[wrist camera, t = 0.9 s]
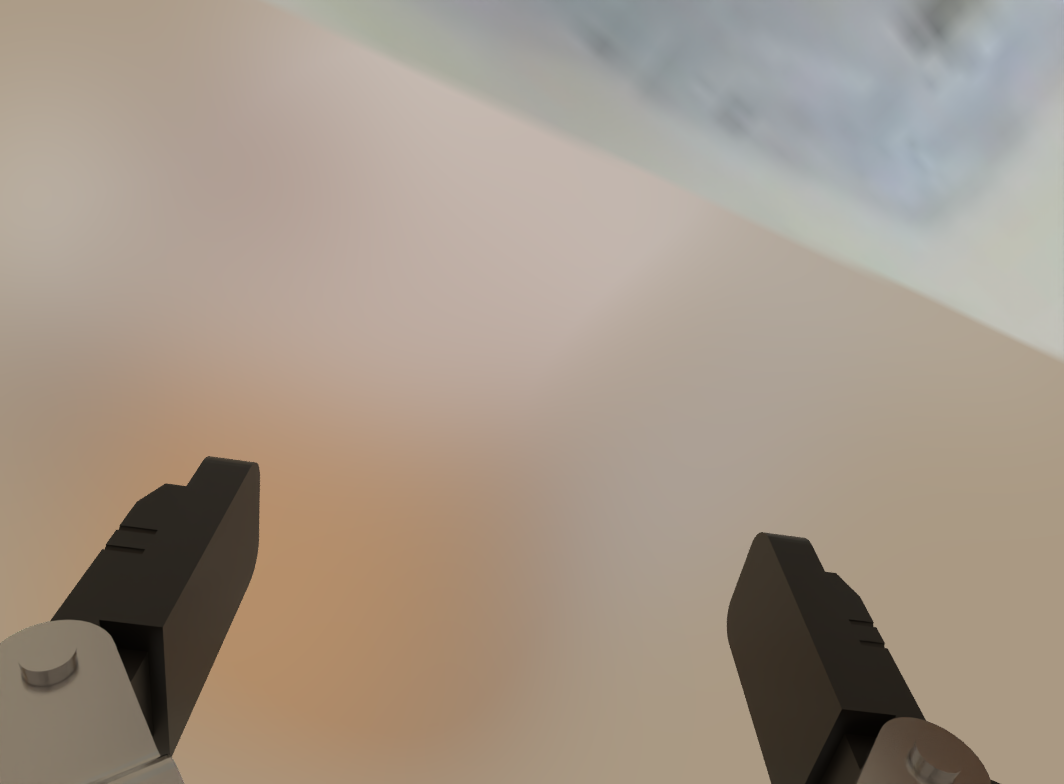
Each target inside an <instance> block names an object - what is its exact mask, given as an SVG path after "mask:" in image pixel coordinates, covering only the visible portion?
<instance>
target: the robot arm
mask: <svg viewBox="0 0 1064 784" xmlns="http://www.w3.org/2000/svg"><path fill="white" fill-rule="evenodd" d="M259 492H260V472H259V466H258V464H257V463H255V462H247V461H240V460H233V459H225V458H218V457H210V456H208V457H206V458H205V459H204V460H203V462H202V463H201V465H200V466H199V468H198V469H197V471H196V473H195V474H194V475H193V477H192V479H191V480H190V482H189V483H188V485H187V486H180V485H173V484H164V485H163V486H161V487H159V488H158V489H156V490H155V491H153V492H152V493H150V494H148V495H147V496H145V497H144V498H142V499H141V500H139V501H137V502H136V504H135V505H134V507H133V508H132V509H131V511H130V512H129V513H128V515H127V516H126V518H125V519H124V520H123V522H122V523H121V524H120V528H119V530H116V531H115V533H114V534H113V535H112V537H111V538H110V539H109V541H108V542H107V544H106V547H105V550H104V549H102V550H101V552H100V553H99V555H98V556H97V557H96V559H95V560H94V561H93V563H92V564H91V566H90V567H89V569H88V570H87V571H86V572H85V574H84V575H83V577H82V578H81V579H80V581H79V582H78V583H77V585H76V586H75V588H74V589H73V590H72V592H71V593H70V594H69V596H68V597H67V599H66V600H65V601H64V603H63V604H62V606H61V607H60V608H59V610H58V611H57V612H56V614H55V615H54V617H53V618H52V619H51V621H50V622H45V623H41V624H37V625H34V626H31V627H29V628H26V629H24V630H21V631H19V632H17V633H15V634H13V635H12V636H10V637H8V638H7V639H5V640H4V641H2V642H1V643H0V784H184V782H183V780H182V777H181V775H180V772H179V770H178V768H177V766H176V764H175V762H174V760H173V759H172V755H173V753H174V750H175V748H176V746H177V744H178V741H179V739H180V737H181V735H182V733H183V730H184V728H185V726H186V724H187V721H188V719H189V717H190V715H191V712H192V710H193V708H194V706H195V704H196V701H197V699H198V697H199V695H200V692H201V690H202V688H203V686H204V683H205V681H206V679H207V677H208V675H209V672H210V670H211V668H212V666H213V663H214V661H215V659H216V657H217V654H218V652H219V650H220V648H221V645H222V643H223V641H224V639H225V636H226V634H227V632H228V630H229V628H230V625H231V623H232V621H233V619H234V616H235V614H236V612H237V610H238V608H239V605H240V603H241V601H242V599H243V596H244V594H245V592H246V590H247V587H248V585H249V583H250V580H251V578H252V574H253V571H254V568H255V564H256V559H257V553H258V544H259V496H260V495H259V494H260V493H259ZM727 635H728V641H729V645H730V648H731V651H732V655H733V658H734V661H735V664H736V668H737V671H738V674H739V678H740V681H741V685H742V688H743V691H744V694H745V698H746V701H747V704H748V708H749V711H750V714H751V717H752V721H753V724H754V728H755V730H756V734H757V737H758V741H759V744H760V747H761V751H762V754H763V757H764V760H765V764H766V767H767V771H768V774H769V777H770V780H771V784H999V783H997V782H995V781H992V780H990V778H989V775H988V773H987V771H986V769H985V767H984V765H983V764H982V762H981V761H980V760H979V758H978V757H977V756H976V755H975V754H974V752H973V751H972V750H971V749H970V748H969V747H968V746H967V745H966V744H964V742H962V741H961V740H960V739H958V738H957V737H956V736H955V735H953V734H952V733H950V732H948V731H947V730H945V729H943V728H941V727H939V726H937V725H935V724H933V723H930V722H928V721H926V720H925V718H924V716H923V714H922V712H921V711H920V708H919V707H918V705H917V703H916V701H915V699H914V697H913V695H912V694H911V692H910V690H909V688H908V686H907V684H906V682H905V680H904V679H903V677H902V675H901V673H900V671H899V669H898V667H897V665H896V664H895V662H894V660H893V658H892V656H891V654H890V652H889V651H888V649H887V648H884V641H883V639H882V637H881V635H880V633H879V632H878V630H877V628H876V627H873V620H872V618H871V617H870V615H869V613H868V611H867V609H866V607H865V605H864V604H863V602H862V600H861V598H860V596H859V595H857V593H856V592H854V590H852V589H851V588H850V587H849V586H848V585H847V584H846V583H845V582H844V581H843V580H842V579H841V578H840V577H839V576H838V575H837V574H836V573H830V572H825V571H824V569H823V567H822V565H821V563H820V561H819V559H818V557H817V555H816V553H815V551H814V548H813V546H812V545H811V543H810V541H809V540H807V539H806V538H800V537H793V536H786V535H778V534H770V533H763V532H761V533H759V534H757V535H756V537H755V538H754V540H753V542H752V545H751V547H750V550H749V553H748V555H747V558H746V561H745V564H744V566H743V569H742V572H741V574H740V577H739V580H738V582H737V586H736V588H735V591H734V593H733V596H732V599H731V601H730V605H729V609H728V616H727Z"/></svg>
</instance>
